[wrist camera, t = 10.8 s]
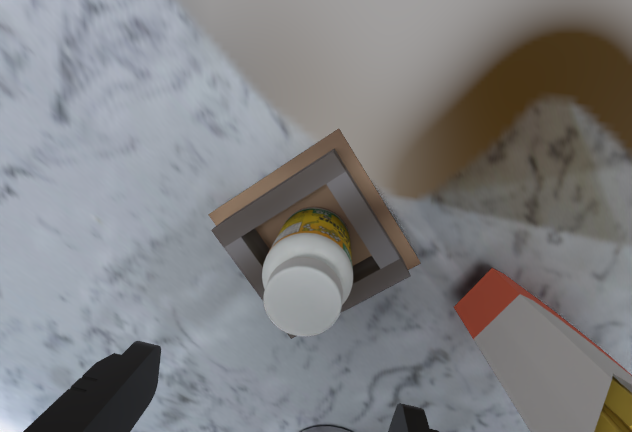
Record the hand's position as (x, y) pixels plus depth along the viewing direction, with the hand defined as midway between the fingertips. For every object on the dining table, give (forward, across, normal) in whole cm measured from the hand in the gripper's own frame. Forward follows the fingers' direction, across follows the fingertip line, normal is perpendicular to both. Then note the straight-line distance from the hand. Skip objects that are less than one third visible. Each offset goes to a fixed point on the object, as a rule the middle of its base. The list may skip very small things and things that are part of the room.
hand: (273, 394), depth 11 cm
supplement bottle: (+16, 0, 0) cm, 16 cm away
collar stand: (+17, 0, 0) cm, 17 cm away
